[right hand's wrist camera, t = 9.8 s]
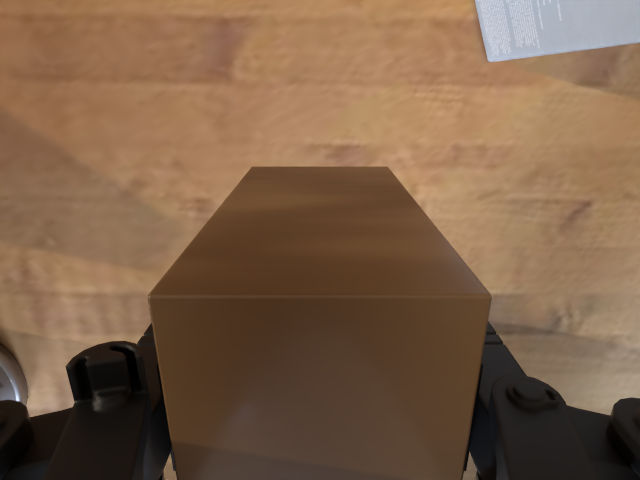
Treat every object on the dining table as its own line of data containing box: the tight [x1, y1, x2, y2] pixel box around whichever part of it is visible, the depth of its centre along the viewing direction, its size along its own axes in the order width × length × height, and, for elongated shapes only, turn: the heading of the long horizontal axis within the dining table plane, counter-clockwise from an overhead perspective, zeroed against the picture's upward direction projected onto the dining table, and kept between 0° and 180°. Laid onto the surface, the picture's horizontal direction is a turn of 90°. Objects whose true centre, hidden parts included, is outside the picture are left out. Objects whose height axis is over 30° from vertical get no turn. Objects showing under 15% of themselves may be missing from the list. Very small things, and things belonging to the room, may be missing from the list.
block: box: [148, 167, 492, 480], centre depth 11 cm, size 5×7×9 cm, turn 0°
